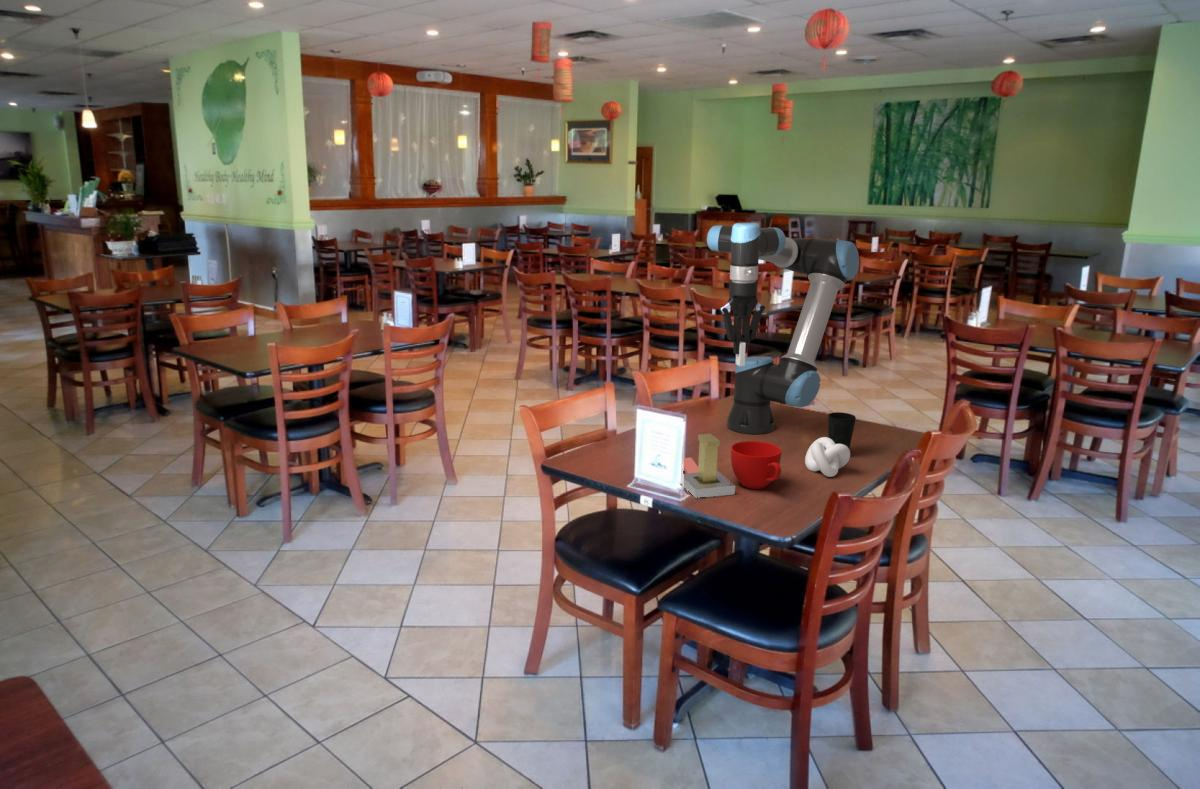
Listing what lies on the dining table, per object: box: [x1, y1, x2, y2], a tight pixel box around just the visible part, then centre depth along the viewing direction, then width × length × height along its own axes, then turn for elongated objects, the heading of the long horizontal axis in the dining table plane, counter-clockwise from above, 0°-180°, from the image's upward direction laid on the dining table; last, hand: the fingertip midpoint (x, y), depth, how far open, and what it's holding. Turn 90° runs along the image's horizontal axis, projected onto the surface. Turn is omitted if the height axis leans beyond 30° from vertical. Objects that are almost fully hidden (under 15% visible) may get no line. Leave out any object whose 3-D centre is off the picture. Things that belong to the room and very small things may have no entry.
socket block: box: [683, 470, 736, 499], centre depth 210 cm, size 11×11×2 cm
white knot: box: [804, 436, 851, 478], centre depth 222 cm, size 11×12×9 cm
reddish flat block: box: [683, 457, 698, 474], centre depth 220 cm, size 10×5×2 cm, turn 17°
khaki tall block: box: [697, 433, 721, 484], centre depth 209 cm, size 6×4×14 cm, turn 16°
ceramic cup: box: [730, 440, 782, 490], centre depth 211 cm, size 13×17×10 cm
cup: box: [827, 411, 857, 456], centre depth 236 cm, size 8×8×12 cm
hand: (740, 364), depth 227 cm, fingers closed
